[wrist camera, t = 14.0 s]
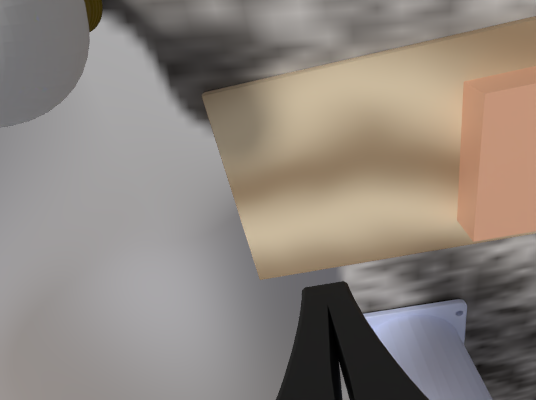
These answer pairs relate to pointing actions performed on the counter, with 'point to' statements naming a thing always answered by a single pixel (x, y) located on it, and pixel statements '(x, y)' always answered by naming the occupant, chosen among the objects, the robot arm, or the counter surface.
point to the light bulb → (42, 53)
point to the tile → (498, 155)
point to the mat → (357, 150)
